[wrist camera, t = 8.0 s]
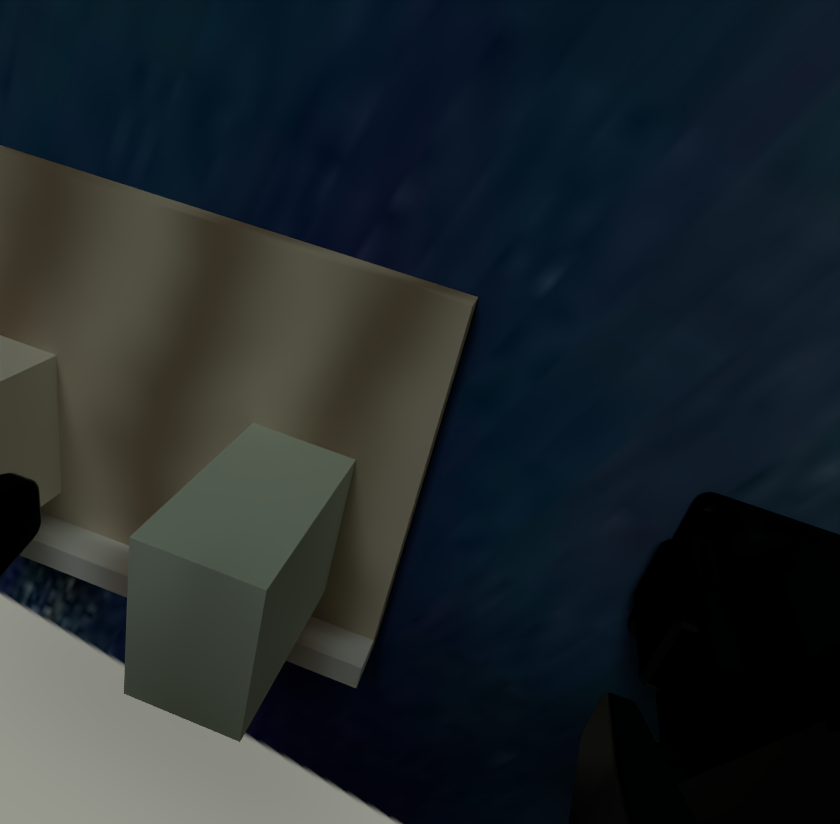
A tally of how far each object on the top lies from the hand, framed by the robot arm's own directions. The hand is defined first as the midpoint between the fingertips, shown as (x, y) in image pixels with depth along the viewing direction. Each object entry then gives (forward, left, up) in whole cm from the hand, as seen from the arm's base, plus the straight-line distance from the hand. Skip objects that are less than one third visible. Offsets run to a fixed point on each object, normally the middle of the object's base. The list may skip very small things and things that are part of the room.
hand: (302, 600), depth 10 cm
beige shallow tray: (+9, +7, -13) cm, 17 cm away
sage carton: (+4, +9, -12) cm, 15 cm away
